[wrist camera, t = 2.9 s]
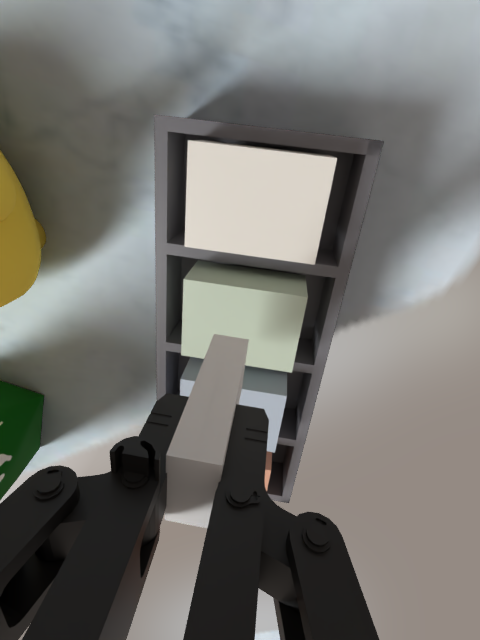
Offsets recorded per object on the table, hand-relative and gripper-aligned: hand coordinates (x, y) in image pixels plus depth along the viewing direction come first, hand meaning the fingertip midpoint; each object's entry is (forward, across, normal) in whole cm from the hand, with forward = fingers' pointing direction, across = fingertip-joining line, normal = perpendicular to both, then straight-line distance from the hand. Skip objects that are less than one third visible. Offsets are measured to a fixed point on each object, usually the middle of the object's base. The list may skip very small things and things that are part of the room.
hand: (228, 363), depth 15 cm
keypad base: (+10, 0, -3) cm, 10 cm away
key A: (+6, 0, +6) cm, 9 cm away
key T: (+6, 0, 0) cm, 6 cm away
